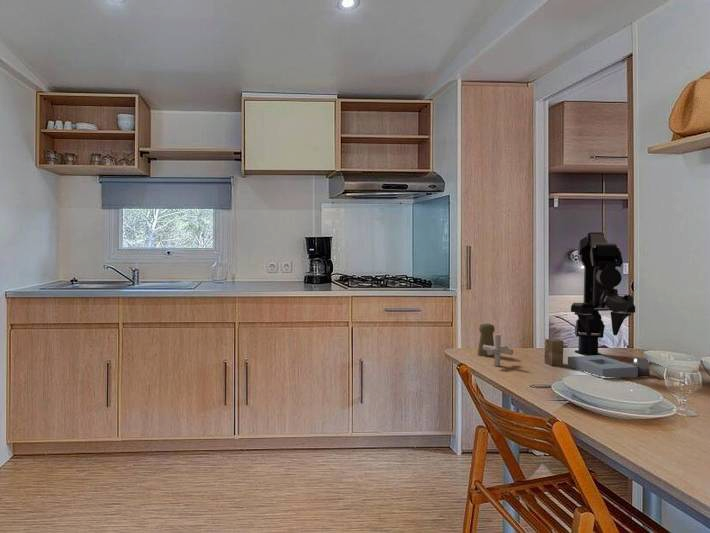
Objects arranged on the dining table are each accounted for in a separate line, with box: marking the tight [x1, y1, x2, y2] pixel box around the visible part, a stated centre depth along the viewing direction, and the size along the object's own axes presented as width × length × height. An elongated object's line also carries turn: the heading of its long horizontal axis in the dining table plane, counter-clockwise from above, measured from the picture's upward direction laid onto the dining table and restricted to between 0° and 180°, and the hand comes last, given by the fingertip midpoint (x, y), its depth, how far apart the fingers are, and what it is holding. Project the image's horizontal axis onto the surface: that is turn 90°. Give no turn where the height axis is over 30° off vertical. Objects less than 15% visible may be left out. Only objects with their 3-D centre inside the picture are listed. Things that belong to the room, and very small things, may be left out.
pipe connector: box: [482, 333, 514, 367], centre depth 163 cm, size 10×10×10 cm
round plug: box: [632, 356, 651, 377], centre depth 152 cm, size 4×4×5 cm
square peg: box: [544, 338, 564, 367], centre depth 165 cm, size 4×4×8 cm
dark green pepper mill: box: [477, 323, 496, 358], centre depth 178 cm, size 6×6×11 cm
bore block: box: [567, 354, 639, 378], centre depth 156 cm, size 16×12×3 cm
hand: (602, 335), depth 156 cm, fingers open, 9 cm apart
